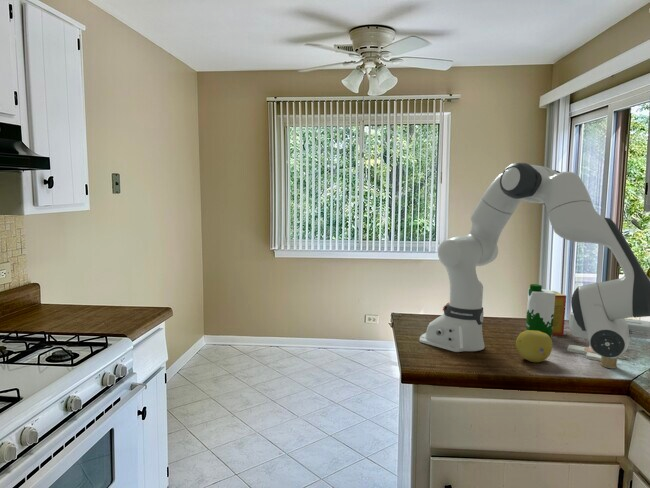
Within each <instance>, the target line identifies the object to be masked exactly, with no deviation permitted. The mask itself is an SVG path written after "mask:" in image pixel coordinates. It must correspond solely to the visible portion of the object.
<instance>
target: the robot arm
mask: <svg viewBox="0 0 650 488" xmlns="http://www.w3.org/2000/svg"><path fill="white" fill-rule="evenodd" d="M521 202H527V203H531V204H541V205H545V207H546V211H547V215H548V220H549V222H550V225H551V228H552V230H553V231H554V233H555V234H556V235H557V236H559V237H560V238H561V239H564V240H567V241H569V242H575V243H585V244H586V243H587V244H597V245H601V246H604V247H606V248H608V249H609V250H610V251H611V252H612V254H613V255H614V257H615V259H616V261H617V263H618V265H619V266H620V268H621V271H622V272H623V274H624V275H623V277H621V278H616V279H610V280H605V281H600V282H593V283H589V284H584V285H580V286H577V287H576V289H575V290H574V292H573V293H572V295H571V300H570V301H571V302H570V303H571V305H570V306H571V310H572V311H570V312H569V316H568V327H569V328H568V329H569V330H570V331H571V335H572V337H576V338H580V339H582V340H583V339H584V340H587V342H588V346H589V345H590V347H591V349H592V350H593V351H594V352H595V353H596V354H598V355H600V356H602V357H606V358H615V357H617V358H618V357H620V356H621V355H624V354H625V352H627V349H628V347H629V345H630V338H634V339H640V340H641V339H642V340H650V321H648V320H647V321H646V320H640V319H639V320H638V319H633V318H646V317H650V277H649V276H648V275H647V274H646V272H645V271H644V269H643V267H642V266H641V263H640V262H639V259H638V258H637V256H636V255H635V253H634V251H633V250H632V249H631V246H630V245H629V243H628V242H627V239H626V238H625V236H624V235H623V234H622V232H621V231H620V229H619V226H618V225H617V224H616V223H615V222H614V221H613V220H612V218H610V217H604V216H602V215H601V214H599V212H598V211H596V208H595V206H594V205H593V202H592V198H591V196H590V194H589V191H588V189H587V187H586V185H585V184H584V182H583V180H582V178H581V177H580V175H578V174H577V173H576V172H572V171H561V172H560V171H559V170H554V169H552V168H549V167H547V166H543V165H536V164H530V163H526V162H515V163H511V164H509V165H508V166H506V167H505V169H504V170H503V171H502V173H500V174H498V175H497V176H496V177H495V178H494V180H493V181H492V182H491V183H490V184H489V185H488V187H487V189H486V190H485V191H484V193H483V194H482V195H481V198H480V199H479V201H478V203H477V205H476V207H475V209H474V210H473V212H472V213H471V216H470V221H471V228H470V230H469V233H468V234H466V235H457V236H453V237H449V238H446V239H445V240H443V241H441V243H440V244H439V246H438V249H437V257H438V260H439V261H440V263H441V264H442V265H443V266H444V267H445V270H446V272H447V275H448V280H449V302H448V303H446V304H445V305H444V306H443V307H442V312H443V314H441V315H440V316H438V317H436V318H435V319H434V320H432V321H430V322H429V324H428V325H427V328H426V332H424V333H422V334H421V335H420V337H419V342H420V343H422V344H425V345H429V346H433V347H437V348H440V349H444V350H447V351H451V352H454V353H460V352H478V351H482V350H484V349H485V348H486V347H485V342H484V336H483V335H484V334H483V325H482V324H483V322H484V307H483V297H484V286H483V283H482V282H481V281H480V280H479V277H478V275H477V270H476V267H481V266H486V265H489V263H492V262H494V260H496V259H497V257H498V253H499V247H498V242H499V239H500V236H501V234H502V232H503V229H504V228H505V226H506V225H507V224H508V222H509V220H510V219H511V217H512V216H513V213H514V212H515V211H516V209H517V208H518V206H519V204H520V203H521Z"/></svg>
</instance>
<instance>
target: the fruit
mask: <svg viewBox="0 0 650 488" xmlns="http://www.w3.org/2000/svg"><path fill="white" fill-rule="evenodd" d="M515 347H516V350H517V353H518V354H519V355H520V356H521V357H522V358H524V359H525V360H526V361H528V362H531V363H541V362H545V360H547V359H548V357H549V356H550V355H551V354H552V351H553V340H552V337H551V338H550V336H549V335H547V334H546V333H543V332H540V331H534V330H526V329H525V330H523V331H522V332H520V333H519V335H518V336H517V337H516V340H515Z"/></svg>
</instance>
